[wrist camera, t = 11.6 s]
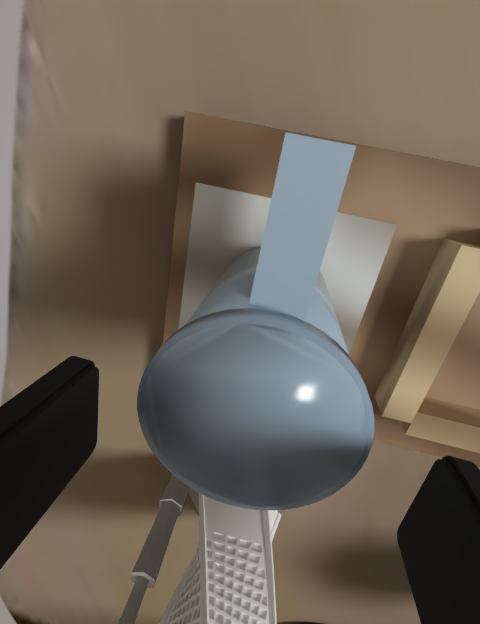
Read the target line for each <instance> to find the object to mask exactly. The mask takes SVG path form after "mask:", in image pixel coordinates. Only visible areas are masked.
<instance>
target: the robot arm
mask: <svg viewBox="0 0 480 624" xmlns="http://www.w3.org/2000/svg"><path fill="white" fill-rule="evenodd" d="M98 389H99V370H98V368H96V367H95V365H94V362H92V361H90V360H86V359H83V358H79V357H75V356H71V357H69V358H67V359H66V360H65V361H63V362H62V363H60V364H59V365H58V366H56V367H55V368H54V369H52V370H51V371H49V372H48V373H47V374H45V375H44V376H42V377H41V378H40V379H38V380H37V381H35V382H34V383H33V384H31V385H30V386H29V387H27V388H26V389H24V390H23V391H22V392H20V393H19V394H17V395H16V396H15V397H13V398H12V399H10V400H9V401H8V402H6V403H5V404H4V405H2V406H1V407H0V569H1V568H2V566H3V565H4V564H5V563H6V561H7V560H8V559H9V558H10V556H11V555H12V554H13V553H14V551H15V550H16V549H17V547H18V546H19V545H20V544H21V542H22V541H23V540H24V539H25V537H26V536H27V535H28V534H29V532H30V531H31V530H32V528H33V527H34V526H35V525H36V523H37V522H38V521H39V520H40V518H41V517H42V516H43V515H44V513H45V512H46V511H47V509H48V508H49V507H50V506H51V504H52V503H53V502H54V501H55V499H56V498H57V497H58V496H59V494H60V493H61V492H62V490H63V489H64V488H65V487H66V485H67V484H68V483H69V482H70V480H71V479H72V478H73V476H74V475H75V474H76V473H77V471H78V470H79V469H80V468H81V466H82V465H83V464H84V463H85V461H86V460H87V459H88V457H89V456H90V455H91V454H92V452H93V450H94V448H95V446H96V443H97V424H98ZM397 539H398V544H399V548H400V551H401V555H402V558H403V562H404V565H405V569H406V572H407V576H408V579H409V583H410V586H411V589H412V593H413V596H414V600H415V603H416V607H417V610H418V614H419V617H420V621H421V624H480V470H479V468H478V467H477V466H476V465H475V463H473V462H471V461H468V460H464V459H460V458H456V457H453V456H445V457H443V459H442V460H441V459H438V460H436V461H435V463H434V465H433V466H432V468H431V470H430V472H429V474H428V475H427V477H426V479H425V481H424V482H423V484H422V486H421V488H420V490H419V491H418V493H417V495H416V497H415V499H414V500H413V502H412V504H411V506H410V508H409V509H408V511H407V513H406V515H405V517H404V518H403V520H402V522H401V524H400V526H399V528H398V532H397Z"/></svg>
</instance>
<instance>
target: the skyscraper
mask: <svg viewBox="0 0 480 624" xmlns="http://www.w3.org/2000/svg"><path fill="white" fill-rule="evenodd" d="M187 494H189V496H190V498H191V500H192V502H193V504H194V506H195V508H196V510H197V512H198V514H199V532H200V539H199V544H198V548H197V552H196V554H195V556H194V558H193V559H192V561H191V563H190V565H189V566H188V568H187V570H186V572H185V574H184V576H183V578H182V579H181V581H180V583H179V585H178V587H177V589H176V591H175V593H174V594H173V596H172V598H171V600H170V602H169V604H168V606H167V608H166V610H165V612H164V615H163V617H162V619H161V621H160V623H159V624H277V621H276V601H275V584H274V567H273V554H272V540H273V537H274V534H275V532H276V529H277V526H278V523H279V520H280V518H281V511H282V510H254V509H246V508H241V507H236V506H232V505H228V504H225V503H222V502H219V501H216V500H214V499H211V498H209V497H207V496H204V495H202V494H201V493H199V492H197V491H195V490H193V489H192V488H190V487H189V486H187V485H186V484H184V483H183V482H181V481H180V480H179V479H177V478H176V477H175V476H174V475H173V474H172V476H171V478H170V480H169V482H168V485H167V487H166V489H165V491H164V493H163V495H162V497H161V499H160V503H159V512H158V515H157V517H156V520H155V522H154V524H153V526H152V529H151V531H150V533H149V535H148V537H147V540H146V542H145V544H144V546H143V549H142V551H141V553H140V555H139V558H138V560H137V562H136V564H135V567H134V569H133V571H132V576H131V581H133V582H134V583H135V585H134V587H133V590H132V592H131V594H130V597H129V599H128V601H127V604H126V606H125V609H124V611H123V613H122V616H121V618H120V621H119V623H118V624H134V622H135V619H136V616H137V613H138V611H139V608H140V605H141V602H142V599H143V596H144V593H145V591H146V588H151V587H154V585H155V582H156V579H157V576H158V573H159V570H160V567H161V564H162V561H163V558H164V555H165V552H166V549H167V546H168V543H169V540H170V537H171V534H172V531H173V528H174V525H175V522H176V519H177V517H178V516H180V515H181V513H182V510H183V507H184V504H185V500H186V497H187Z"/></svg>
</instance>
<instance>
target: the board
mask: <svg viewBox="0 0 480 624" xmlns="http://www.w3.org/2000/svg"><path fill="white" fill-rule="evenodd" d="M286 132H287V133H292V134H297V135H303V136H308V137H313V138H318V139H323V140H328V141H334V142H339V143H344V144H349V145H354V146H356V149H355V152H354V156H353V159H352V163H351V166H350V169H349V173H348V176H347V180H346V183H345V186H344V190H343V193H342V196H341V200H340V203H339V207H338V210H337V213H336V217H335V220H334V224H333V227H332V230H331V234H330V237H329V240H328V244H327V247H326V251H325V254H324V257H323V261H322V264H321V268H320V272H321V274H322V276H323V277H324V280H325V283H326V286H327V289H328V292H329V295H330V298H331V301H332V304H333V307H334V310H335V313H336V316H337V319H338V323H339V326H340V329H341V332H342V335H343V338H344V341H345V344H346V347H347V350H348V353H349V356H350V358H351V359H352V360H353V362H354V363H355V364H356V366H357V368H358V370H359V372H360V374H361V376H362V377H363V380H364V383H365V386H366V389H367V391H368V394H369V397H370V400H371V403H372V407H373V413H374V437H373V440H377V441H381V442H384V443H388V444H392V445H396V446H400V447H404V448H408V449H412V450H416V451H419V452H423V453H427V454H431V455H435V456H439V457H445V456H453V457H456V458H460V459H464V460H468V461H471V462H473V463H475V465H476V466H478V467H480V453H477V452H473V451H469V450H465V449H461V448H457V447H453V446H449V445H445V444H441V443H438V442H434V441H430V440H426V439H422V438H418V437H414V436H410V435H406V434H405V432H404V430H403V428H402V425H401V423H400V421H399V420H395V419H391V418H387V417H383V416H382V415H381V413H380V410H379V407H378V404H377V402H376V399H375V394H376V391H377V389H378V387H379V385H380V382H381V380H382V378H383V375H384V373H385V371H386V369H387V366H388V364H389V362H390V360H391V357H392V355H393V353H394V351H395V348H396V346H397V344H398V341H399V339H400V337H401V335H402V332H403V330H404V328H405V326H406V323H407V321H408V319H409V316H410V314H411V312H412V310H413V307H414V305H415V303H416V301H417V298H418V296H419V294H420V291H421V289H422V287H423V285H424V282H425V280H426V278H427V276H428V273H429V271H430V269H431V266H432V264H433V262H434V260H435V257H436V255H437V253H438V251H439V248H440V246H441V244H442V242H443V239H444V238H445V239H450V240H455V241H460V242H465V243H469V244H474V245H478V244H479V242H480V167H475V166H470V165H465V164H459V163H454V162H449V161H444V160H438V159H433V158H428V157H422V156H417V155H412V154H407V153H401V152H396V151H391V150H386V149H380V148H375V147H370V146H365V145H359V144H354V143H349V142H344V141H338V140H333V139H328V138H323V137H317V136H312V135H307V134H302V133H296V132H291V131H286V130H281V129H275V128H270V127H265V126H260V125H254V124H249V123H244V122H239V121H233V120H228V119H223V118H218V117H212V116H207V115H202V114H197V113H191V112H186V111H185V118H184V128H183V138H182V149H181V159H180V169H179V179H178V190H177V200H176V210H175V220H174V231H173V241H172V251H171V261H170V272H169V282H168V292H167V303H166V313H165V323H164V333H163V344H164V342H165V341H166V340H167V339H168V338H169V337H170V336H171V335H172V334H174V333H175V332H176V331H177V330H179V329H180V328H181V327H183V326H184V325H185V324H186V323H187V321H188V320H189V319H190V317H191V316H192V315H193V313H194V312H195V311H196V309H197V308H198V307H199V305H200V304H201V303H202V301H203V300H204V299H205V298H206V296H207V295H208V294H209V292H210V291H211V290H212V288H213V287H214V286H215V284H216V283H217V282H218V280H219V279H220V278H221V276H222V275H223V274H224V272H225V271H226V270H227V268H228V267H229V266H230V264H231V263H232V262H233V261H234V260H235V259H237V258H238V257H239V256H241V255H242V254H244V253H245V252H247V251H249V250H252V249H254V248H258V247H261V245H262V240H263V236H264V231H265V226H266V222H267V217H268V212H269V208H270V203H271V198H272V193H273V189H274V184H275V179H276V175H277V170H278V165H279V161H280V156H281V151H282V147H283V142H284V137H285V133H286ZM163 344H162V345H163ZM425 397H429V398H433V399H437V400H441V401H446V402H450V403H454V404H458V405H462V406H466V407H470V408H474V409H478V410H480V292H479V294H478V296H477V298H476V300H475V302H474V304H473V306H472V307H471V309H470V311H469V313H468V315H467V317H466V319H465V321H464V323H463V325H462V327H461V329H460V331H459V332H458V334H457V336H456V338H455V340H454V342H453V344H452V346H451V348H450V350H449V352H448V354H447V355H446V357H445V359H444V361H443V363H442V365H441V367H440V369H439V371H438V373H437V375H436V377H435V379H434V380H433V382H432V384H431V386H430V388H429V390H428V392H427V394H426V396H425Z"/></svg>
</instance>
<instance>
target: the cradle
mask: <svg viewBox="0 0 480 624" xmlns="http://www.w3.org/2000/svg"><path fill="white" fill-rule="evenodd" d="M479 292H480V242H479V244H478V245H474V244H469V243H465V242H460V241H455V240H450V239H445V238H444V239H443V242H442V244H441V246H440V248H439V251H438V253H437V255H436V257H435V260H434V262H433V264H432V266H431V269H430V271H429V273H428V276H427V278H426V280H425V282H424V285H423V287H422V289H421V291H420V294H419V296H418V298H417V301H416V303H415V305H414V307H413V310H412V312H411V314H410V316H409V319H408V321H407V323H406V326H405V328H404V330H403V332H402V335H401V337H400V339H399V341H398V344H397V346H396V348H395V351H394V353H393V355H392V357H391V360H390V362H389V364H388V366H387V369H386V371H385V373H384V375H383V378H382V380H381V382H380V385H379V387H378V389H377V391H376V394H375V399H376V402H377V404H378V407H379V410H380V413H381V415H382V416H383V417H387V418H391V419H395V420H399V421H400V423H401V425H402V428H403V430H404V432H405V434H406V435H410V436H414V437H418V438H422V439H426V440H430V441H434V442H438V443H441V444H445V445H449V446H453V447H457V448H461V449H465V450H469V451H473V452H477V453H480V410H478V409H474V408H470V407H466V406H462V405H458V404H454V403H450V402H446V401H441V400H437V399H433V398H429V397H425V396H426V394H427V392H428V390H429V388H430V386H431V384H432V382H433V380H434V379H435V377H436V375H437V373H438V371H439V369H440V367H441V365H442V363H443V361H444V359H445V357H446V355H447V354H448V352H449V350H450V348H451V346H452V344H453V342H454V340H455V338H456V336H457V334H458V332H459V331H460V329H461V327H462V325H463V323H464V321H465V319H466V317H467V315H468V313H469V311H470V309H471V307H472V306H473V304H474V302H475V300H476V298H477V296H478V294H479Z"/></svg>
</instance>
